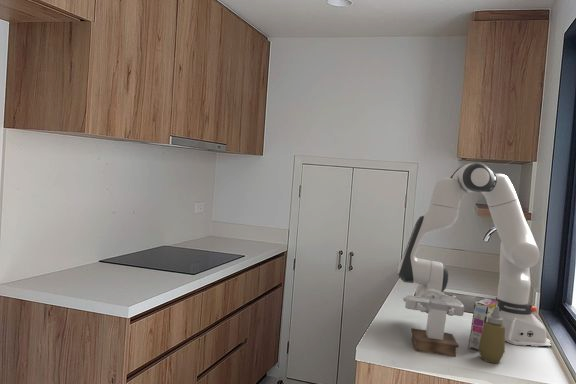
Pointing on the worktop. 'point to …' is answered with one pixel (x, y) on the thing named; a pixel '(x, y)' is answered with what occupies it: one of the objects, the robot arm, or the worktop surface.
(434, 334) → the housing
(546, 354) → the worktop surface
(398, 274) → the robot arm
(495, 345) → the squeeze bottle
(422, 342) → the stand
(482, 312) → the candy bar box
